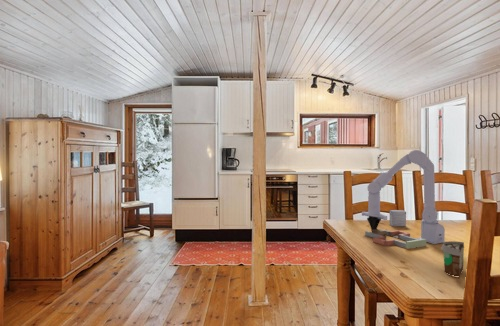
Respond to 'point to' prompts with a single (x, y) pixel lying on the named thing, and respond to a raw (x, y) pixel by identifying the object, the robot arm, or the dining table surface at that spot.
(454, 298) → the dining table surface
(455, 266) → the food container
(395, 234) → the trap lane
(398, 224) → the medicine box
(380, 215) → the robot arm
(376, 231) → the walnut block
